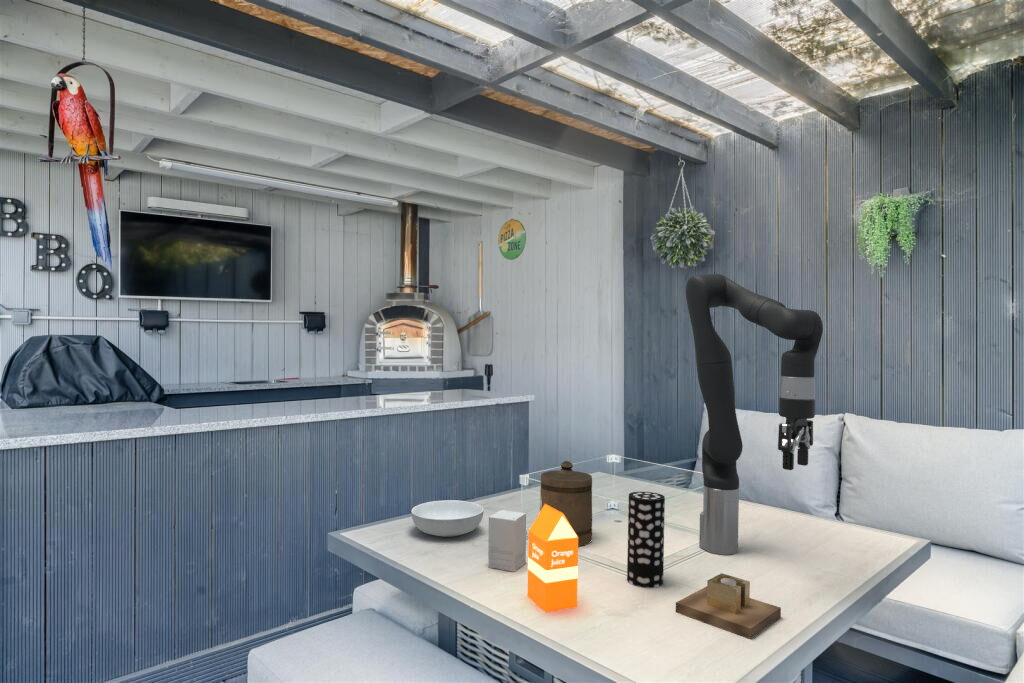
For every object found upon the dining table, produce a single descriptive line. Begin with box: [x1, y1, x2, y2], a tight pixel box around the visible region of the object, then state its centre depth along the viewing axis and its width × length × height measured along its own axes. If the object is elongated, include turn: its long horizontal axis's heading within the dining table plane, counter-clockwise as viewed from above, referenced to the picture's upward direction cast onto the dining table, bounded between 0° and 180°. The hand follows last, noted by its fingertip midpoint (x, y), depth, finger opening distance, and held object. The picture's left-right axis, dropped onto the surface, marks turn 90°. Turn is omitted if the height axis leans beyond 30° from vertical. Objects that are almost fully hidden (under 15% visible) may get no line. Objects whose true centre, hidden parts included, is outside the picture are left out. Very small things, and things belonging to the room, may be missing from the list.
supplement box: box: [487, 509, 527, 573], centre depth 156 cm, size 7×7×13 cm
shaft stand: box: [675, 578, 782, 640], centre depth 130 cm, size 16×14×7 cm
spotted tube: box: [626, 491, 666, 589], centre depth 147 cm, size 8×8×20 cm
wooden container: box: [539, 460, 593, 548], centre depth 178 cm, size 15×15×22 cm
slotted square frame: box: [706, 572, 751, 614], centre depth 130 cm, size 6×6×5 cm
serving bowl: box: [410, 499, 485, 538], centre depth 182 cm, size 21×21×7 cm
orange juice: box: [527, 504, 579, 613], centre depth 135 cm, size 8×9×20 cm
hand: (795, 467), depth 144 cm, fingers open, 8 cm apart
